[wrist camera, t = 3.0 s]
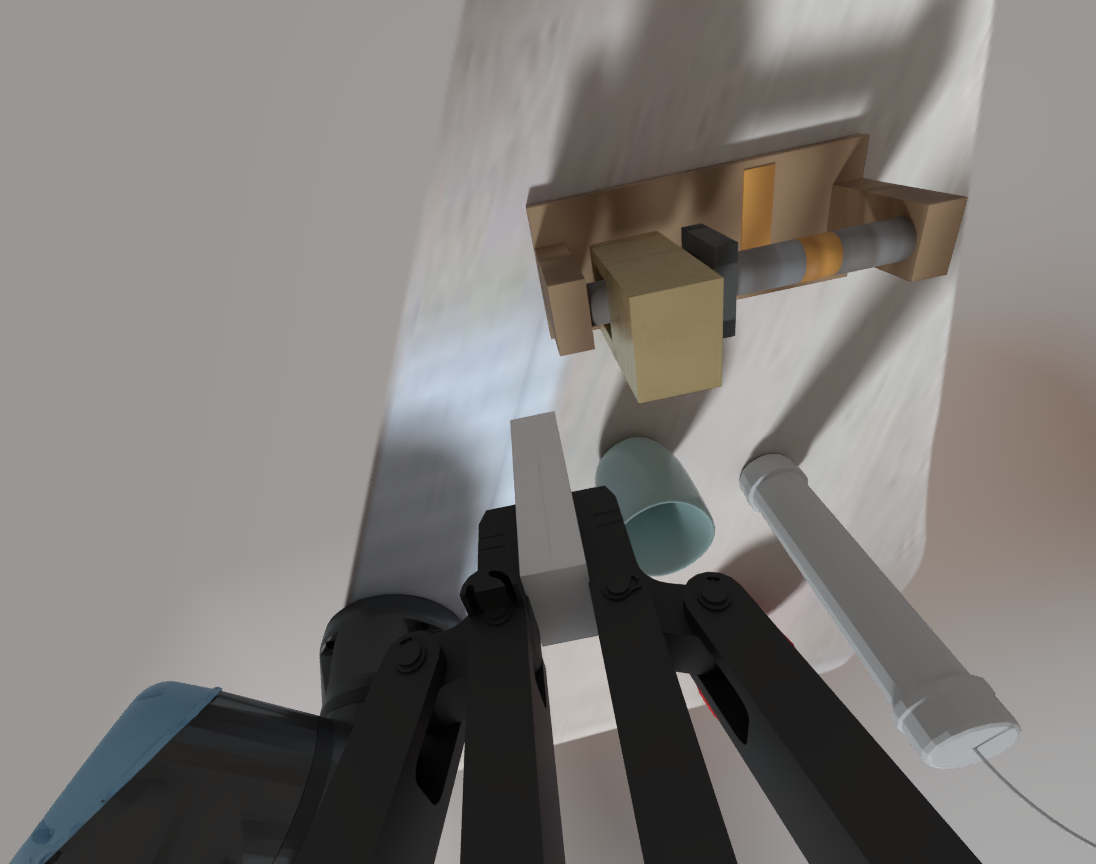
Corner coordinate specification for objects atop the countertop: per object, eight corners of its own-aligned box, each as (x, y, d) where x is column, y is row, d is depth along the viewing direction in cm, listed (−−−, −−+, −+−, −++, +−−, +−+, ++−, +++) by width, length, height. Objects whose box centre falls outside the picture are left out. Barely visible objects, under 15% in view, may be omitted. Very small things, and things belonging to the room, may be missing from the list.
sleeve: (599, 328, 31) (638, 403, 23) (589, 244, 29) (629, 297, 20) (661, 315, 31) (721, 386, 23) (656, 230, 29) (723, 277, 20)
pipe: (739, 456, 45) (1046, 878, 20) (805, 444, 46) (1192, 851, 21) (734, 500, 48) (996, 915, 24) (796, 490, 49) (1124, 892, 24)
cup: (635, 407, 41) (672, 482, 33) (690, 455, 45) (736, 534, 37) (570, 465, 44) (589, 548, 36) (626, 506, 47) (656, 590, 39)
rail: (549, 333, 37) (567, 394, 29) (525, 206, 32) (538, 236, 24) (838, 272, 37) (935, 316, 29) (859, 133, 32) (982, 141, 24)
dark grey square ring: (683, 309, 31) (713, 340, 27) (681, 227, 28) (714, 247, 24) (702, 305, 31) (735, 335, 27) (701, 223, 28) (738, 242, 24)
